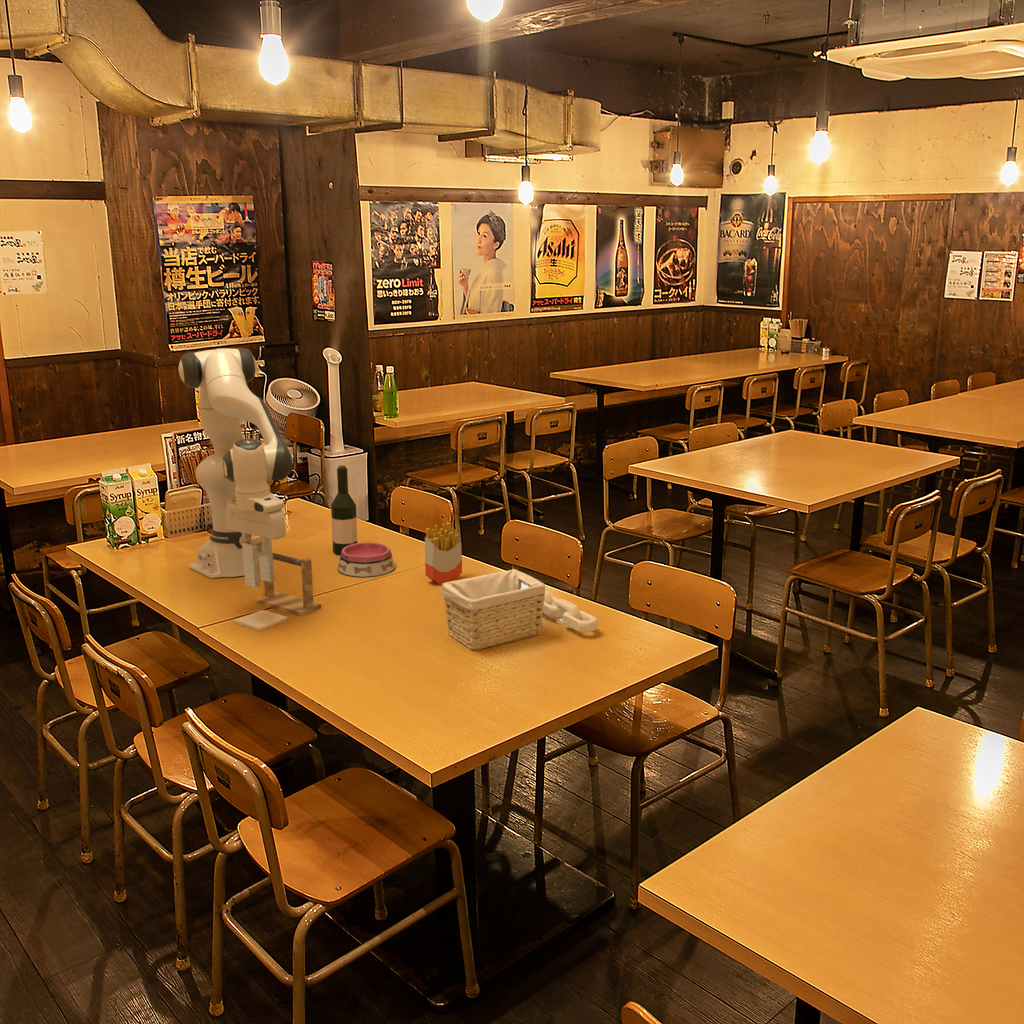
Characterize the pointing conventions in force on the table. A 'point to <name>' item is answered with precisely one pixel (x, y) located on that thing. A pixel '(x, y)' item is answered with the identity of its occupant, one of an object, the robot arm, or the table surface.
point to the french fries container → (443, 554)
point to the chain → (568, 614)
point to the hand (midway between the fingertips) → (257, 550)
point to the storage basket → (494, 608)
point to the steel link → (251, 565)
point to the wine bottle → (343, 514)
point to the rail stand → (288, 601)
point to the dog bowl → (366, 560)
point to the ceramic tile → (261, 620)
